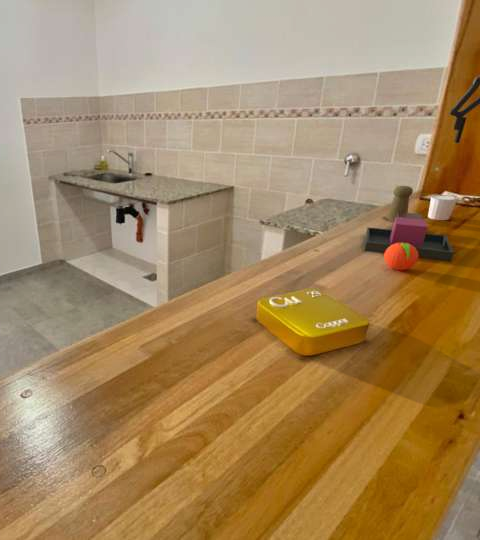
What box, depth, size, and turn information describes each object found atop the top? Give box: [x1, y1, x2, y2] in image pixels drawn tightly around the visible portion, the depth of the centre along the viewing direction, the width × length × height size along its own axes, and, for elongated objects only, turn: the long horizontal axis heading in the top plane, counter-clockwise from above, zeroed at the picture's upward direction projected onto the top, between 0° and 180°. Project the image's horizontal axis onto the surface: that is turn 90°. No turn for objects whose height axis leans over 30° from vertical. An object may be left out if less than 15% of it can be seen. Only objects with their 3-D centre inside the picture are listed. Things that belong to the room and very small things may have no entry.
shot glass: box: [427, 195, 458, 221], centre depth 129 cm, size 7×7×7 cm
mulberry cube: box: [390, 217, 429, 248], centre depth 107 cm, size 7×7×7 cm
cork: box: [385, 185, 414, 221], centre depth 130 cm, size 6×6×11 cm
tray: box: [363, 227, 454, 262], centre depth 108 cm, size 19×14×3 cm
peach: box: [383, 242, 419, 271], centre depth 95 cm, size 8×7×7 cm
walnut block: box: [396, 212, 423, 219], centre depth 120 cm, size 6×6×5 cm
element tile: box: [255, 288, 370, 357], centre depth 74 cm, size 15×15×5 cm
